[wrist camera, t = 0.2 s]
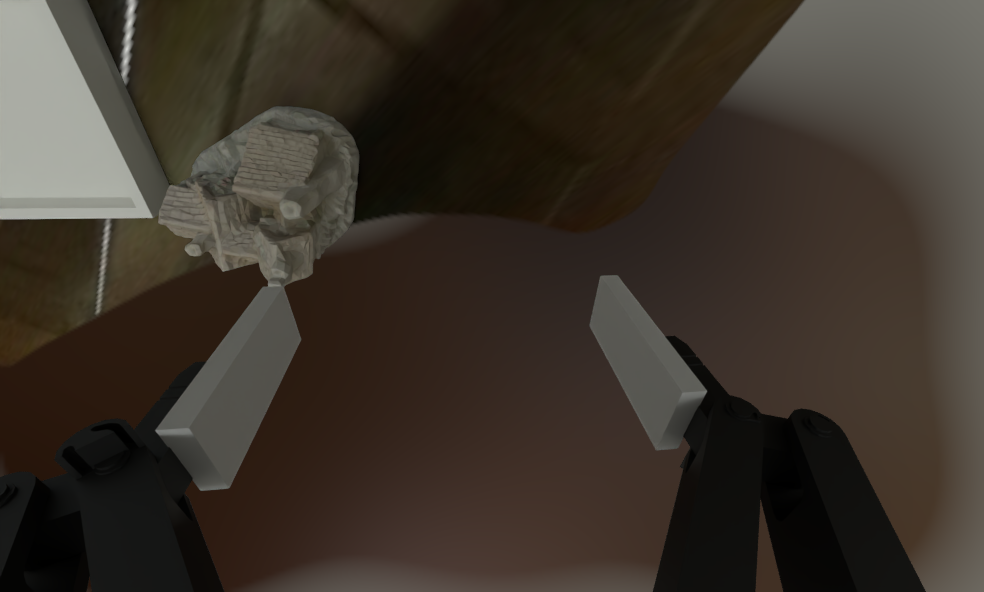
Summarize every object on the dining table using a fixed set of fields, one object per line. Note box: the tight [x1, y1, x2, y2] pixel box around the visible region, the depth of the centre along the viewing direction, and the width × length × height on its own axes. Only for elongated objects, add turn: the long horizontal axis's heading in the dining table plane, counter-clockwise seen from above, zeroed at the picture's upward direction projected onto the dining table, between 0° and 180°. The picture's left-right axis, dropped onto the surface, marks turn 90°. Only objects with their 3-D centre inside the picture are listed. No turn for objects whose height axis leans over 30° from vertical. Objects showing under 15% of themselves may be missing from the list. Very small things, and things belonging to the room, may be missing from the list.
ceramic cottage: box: [158, 106, 359, 287], centre depth 33 cm, size 16×16×15 cm
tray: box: [0, 0, 170, 219], centre depth 31 cm, size 18×16×4 cm
